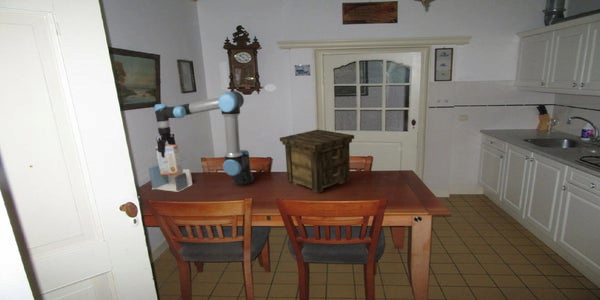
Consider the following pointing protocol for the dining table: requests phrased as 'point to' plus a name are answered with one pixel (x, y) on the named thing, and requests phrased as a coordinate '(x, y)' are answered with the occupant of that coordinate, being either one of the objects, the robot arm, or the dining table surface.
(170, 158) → the cracker box
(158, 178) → the book rack
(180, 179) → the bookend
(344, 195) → the dining table surface
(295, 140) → the wooden drawer cabinet
